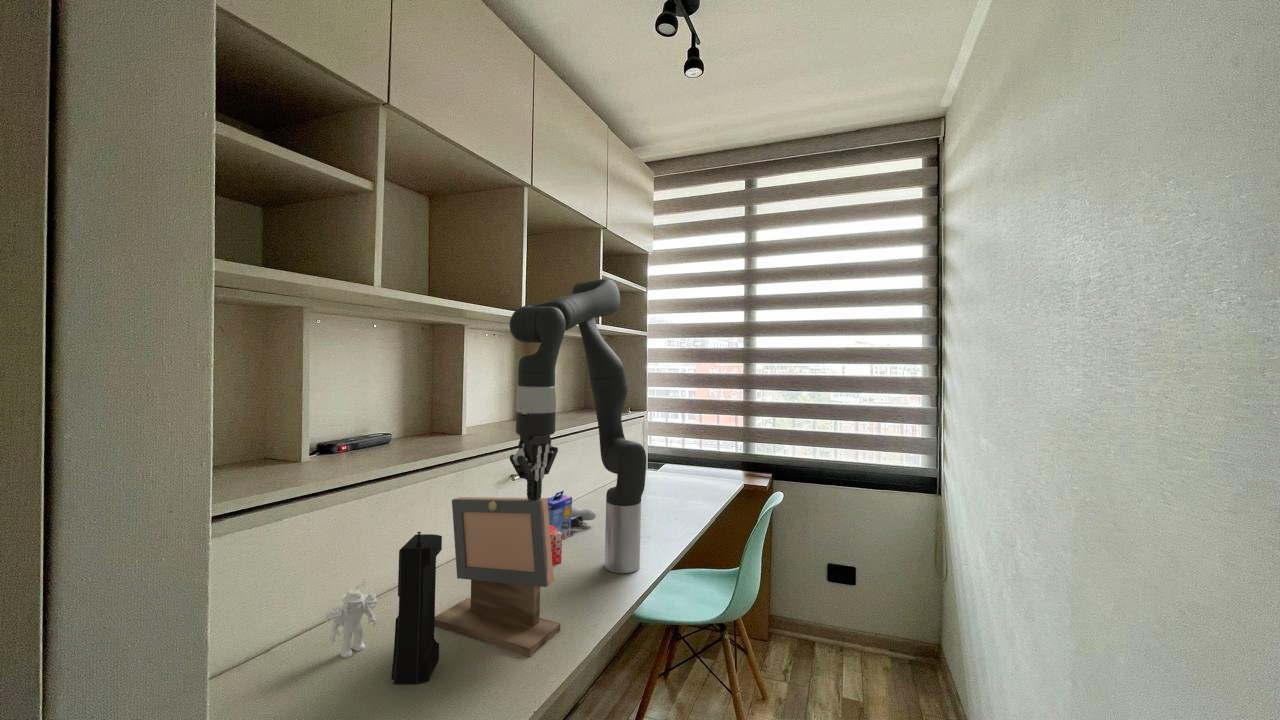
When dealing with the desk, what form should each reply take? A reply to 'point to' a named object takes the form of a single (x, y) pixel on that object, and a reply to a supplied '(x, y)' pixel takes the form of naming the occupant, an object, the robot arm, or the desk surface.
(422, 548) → the portable radio
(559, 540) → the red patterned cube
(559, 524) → the ink cartridge box
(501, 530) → the picture frame
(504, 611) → the frame stand
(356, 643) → the hat wearing toy figure
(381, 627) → the desk surface
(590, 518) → the clip-on lamp
